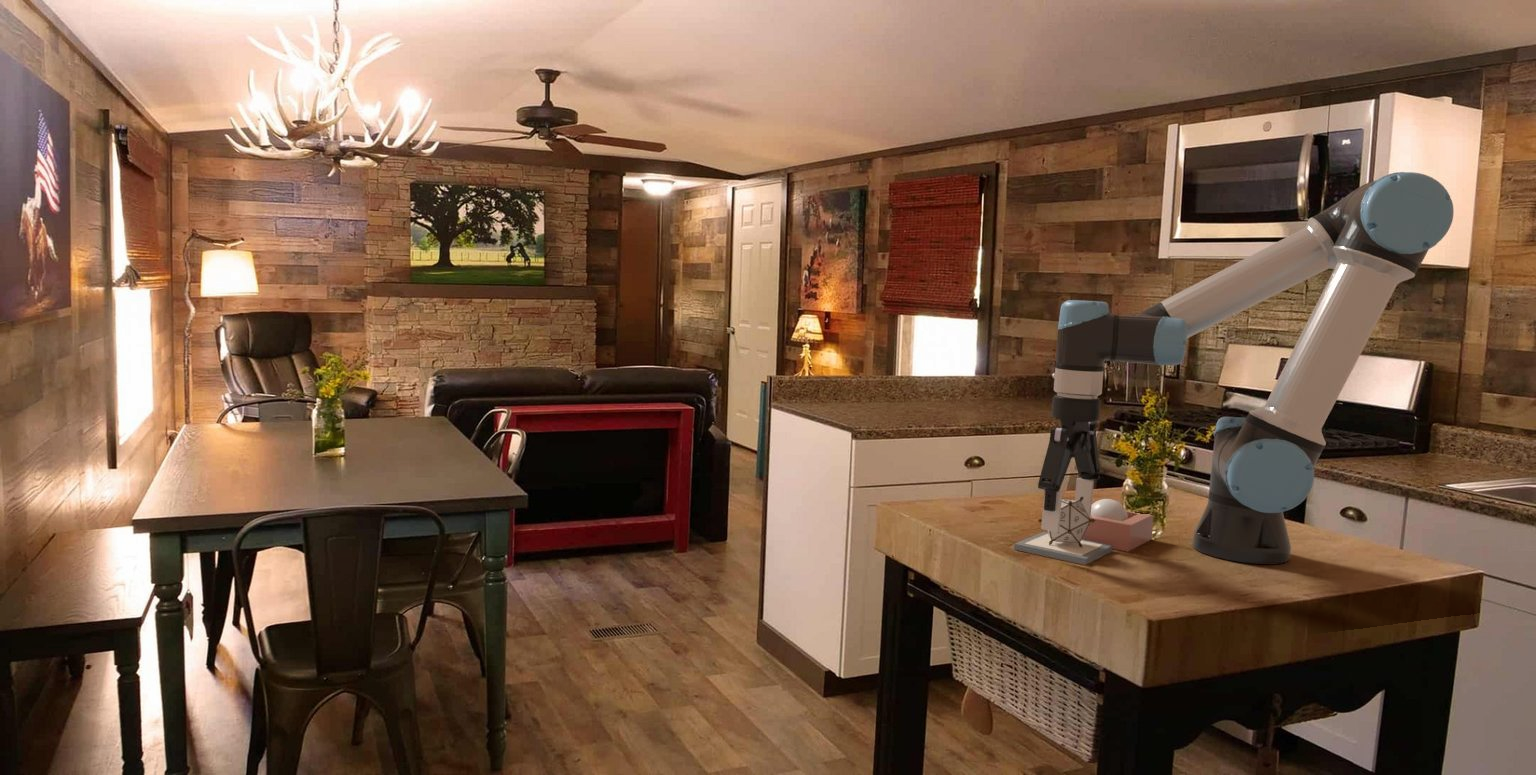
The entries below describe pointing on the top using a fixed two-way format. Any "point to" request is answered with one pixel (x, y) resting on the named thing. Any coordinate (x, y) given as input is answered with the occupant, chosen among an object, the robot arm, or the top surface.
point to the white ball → (1109, 510)
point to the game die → (1071, 522)
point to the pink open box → (1121, 531)
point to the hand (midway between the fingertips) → (1066, 523)
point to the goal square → (1063, 549)
